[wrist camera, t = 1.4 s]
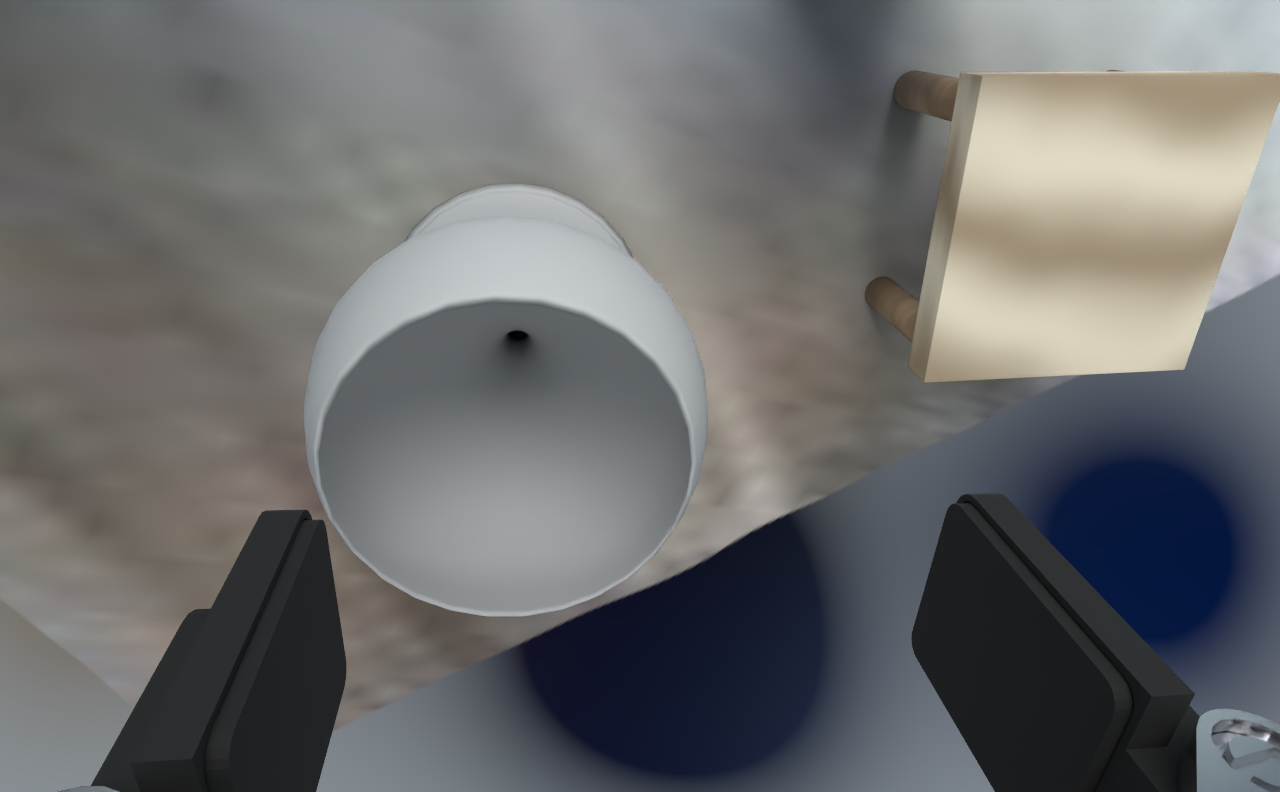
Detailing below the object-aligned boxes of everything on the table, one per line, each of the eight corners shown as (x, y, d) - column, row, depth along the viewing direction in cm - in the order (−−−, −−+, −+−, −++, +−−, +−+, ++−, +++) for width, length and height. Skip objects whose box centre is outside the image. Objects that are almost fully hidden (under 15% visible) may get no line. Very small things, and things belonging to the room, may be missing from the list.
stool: (889, 61, 34) (982, 75, 27) (1138, 60, 36) (1288, 74, 29) (854, 315, 40) (924, 382, 33) (1071, 306, 41) (1183, 369, 34)
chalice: (715, 250, 37) (815, 385, 24) (579, 472, 42) (600, 689, 29) (441, 99, 33) (379, 164, 20) (324, 367, 38) (209, 566, 24)
